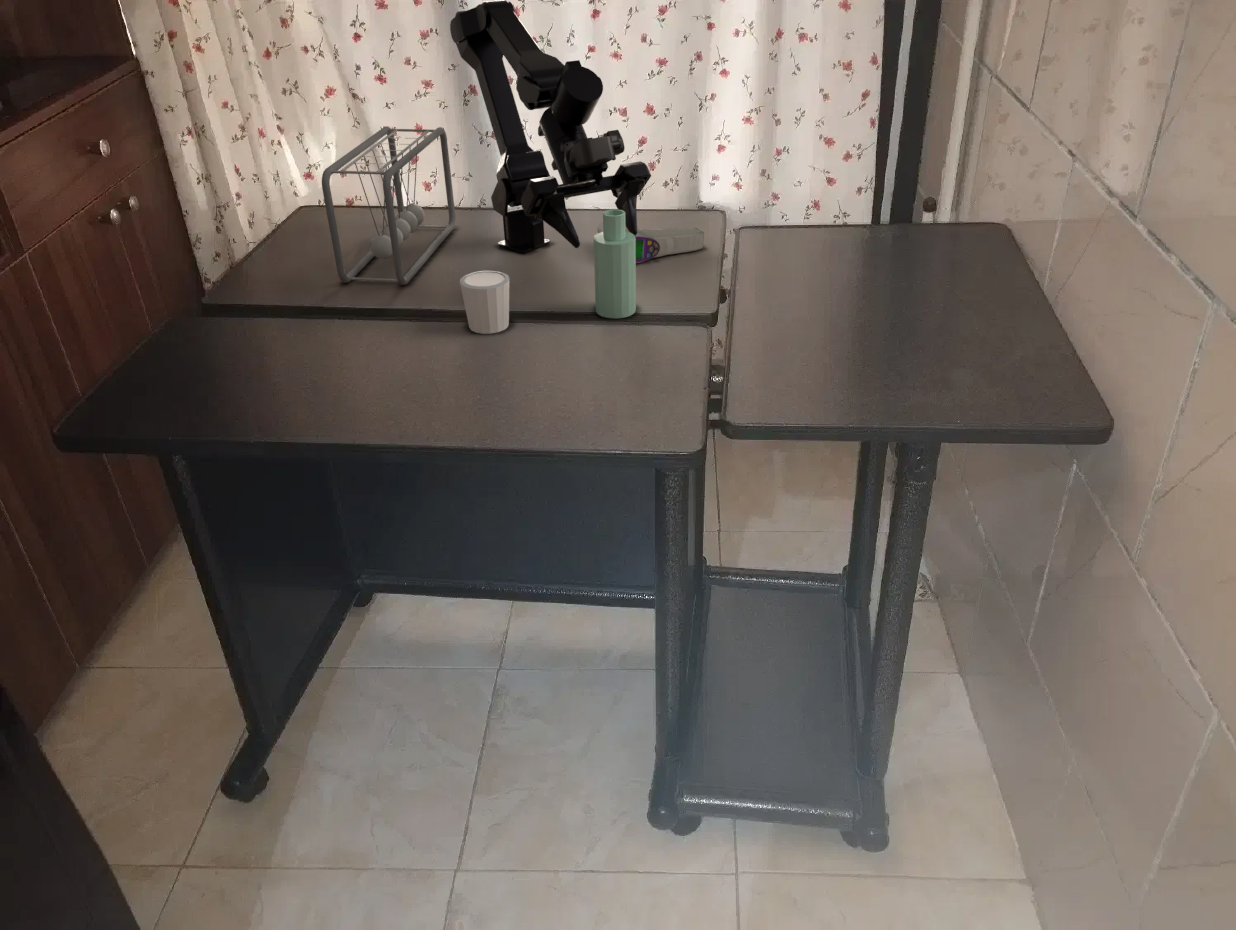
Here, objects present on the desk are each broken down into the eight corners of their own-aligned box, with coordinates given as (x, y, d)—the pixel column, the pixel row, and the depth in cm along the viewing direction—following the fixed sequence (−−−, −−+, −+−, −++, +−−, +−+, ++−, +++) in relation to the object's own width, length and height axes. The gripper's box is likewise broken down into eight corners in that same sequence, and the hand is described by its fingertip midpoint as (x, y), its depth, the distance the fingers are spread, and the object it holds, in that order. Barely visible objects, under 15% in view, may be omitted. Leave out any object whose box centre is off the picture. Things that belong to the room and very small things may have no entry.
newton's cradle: (403, 290, 147) (387, 174, 138) (339, 287, 149) (317, 172, 139) (457, 226, 172) (446, 124, 163) (401, 224, 174) (387, 123, 164)
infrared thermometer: (706, 256, 160) (627, 266, 154) (669, 234, 169) (593, 243, 163) (708, 229, 158) (628, 238, 152) (671, 209, 167) (594, 217, 161)
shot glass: (504, 337, 132) (500, 289, 129) (457, 333, 134) (452, 286, 130) (519, 317, 138) (515, 271, 134) (473, 314, 139) (469, 268, 135)
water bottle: (587, 312, 139) (584, 214, 132) (612, 299, 143) (611, 203, 135) (618, 322, 136) (617, 222, 128) (643, 308, 140) (643, 211, 132)
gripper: (523, 120, 127) (563, 223, 125) (644, 103, 135) (684, 201, 132) (504, 166, 137) (541, 263, 135) (618, 148, 145) (655, 239, 143)
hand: (606, 240), depth 136 cm, fingers open, 9 cm apart
